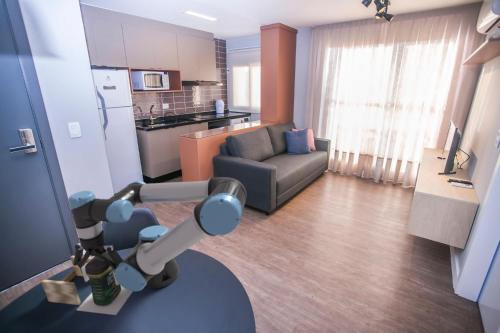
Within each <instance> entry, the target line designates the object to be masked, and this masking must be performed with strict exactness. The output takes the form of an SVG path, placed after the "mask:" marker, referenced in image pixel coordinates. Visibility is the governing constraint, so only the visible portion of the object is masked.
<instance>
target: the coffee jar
mask: <svg viewBox="0 0 500 333" xmlns="http://www.w3.org/2000/svg"><path fill="white" fill-rule="evenodd" d="M104 254H105V252H104V253H103V254H102V255H104ZM93 257H94V258H93V259H92V260H90V261H89V262H88V263H87V264H86V265H85V271H86V275H87V276H88V277H89V283H90V287H91V288H90V289H91V293H92V295H93V301H94V304H96V305H99V306H106V305H109V304H110V303H112V302H113V301H114V299H115V298H116V297H117V296H118V295H119V293H120V291H121V286H120V284H119V285H116V282H115V278H114V274H113V270H114V269H113V268H112V267H111V266H110V265H109V264H108V263H107V262H106V261H105V260H104V259H101V258H99V257H96V256H93Z"/></svg>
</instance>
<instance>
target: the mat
mask: <svg viewBox="0 0 500 333" xmlns="http://www.w3.org/2000/svg"><path fill="white" fill-rule="evenodd" d="M120 286H121V285H120ZM133 292H134V291H130V290H127V289H125V288H124V287H122V286H121V291H120V293H119V295H118V296H117V297H116V298H115V299H114V301H113V302H112V303H110V304H109V305H106V306H99V305H96V304H94V301H93V295H92V292H91V293H90V294H89V295H88V296H87V297H86V298H85V299H84V301H83V302H82V303H80V304H79V307H77V308H76V311H79V312H86V313H87V312H88V313H95V314H105V315H113V316H116V315H117V314H118V313H119V312H120V311H121V309H122V307H123V306H124V304H125V303H126V302H127V300H128V299H129V298H130V296H131V294H133Z"/></svg>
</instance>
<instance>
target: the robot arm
mask: <svg viewBox="0 0 500 333" xmlns="http://www.w3.org/2000/svg"><path fill="white" fill-rule="evenodd" d="M247 198H248V197H247V190H246V188H245V185H244V184H242V182H241V181H240V180H238V179H235V178H233V177H229V176H228V177H227V176H226V177H224V176H223V177H221V176H219V177H209V179H207V180H198V181H195V180H194V181H193V180H192V181H177V182H175V181H174V182H159V183H158V182H156V183H146V182H144V181H142V180H134V181H133V182H131V183H129V184H127V185H126V186H125V187H124V188H122V189H121V190H120V191H118V192H117V193H116V194H114V195H112V196H111V197H110V198H96V195H95V193H94V191H91V190H82V191H78V192H75V193H73V194H71V195H70V196H69V197H68V205H69V206H68V207H69V210H70V212H71V217H72V220H73V222H74V227H75V230H76V233H77V237H78V240H79V242H78V243H77V244H75V246H74V249H75V253H74V256H75V257H74V262H73V264H72V266H73V265H74V266H76V265H78V267H80V270H81V273H83V276H82V277H83V279H84V280H83V281H84V282H85V283H87V282H89V281H90V279H89V277H88V276H87V275H86V271H85V265H86V264H87V263H86V262H87V260H88V258H89V257H95V256H96V257H99V258H101V259H104V260H105V261H106V262H107V263H108V264H109V265H110V266H111V267H112V268H113V269H114V270H113V274H114V278H115V282H116V285H119V284H120V285H121V286H122V287H124V288H125V289H127V290H130V291H133V292H139V291H140V292H141V291H142V290H143V289H144V288H145V287H147V288H149V289H161V288H165V287H167V286H169V285H170V284H172V283H174V282H175V281H176V279H177V278H178V277H179V275H180V268H179V266H180V265H179V264H178V262H177V261H176V259H175V258H176V257H177V256H179V255H180V254H182V253H184V252H185V251H187V250H188V249H189V248H191V247H192V246H194V245H195V244H197V243H198V242H200V241H201V240H203V239H205V238H206V237H208V236H209V237H212V238H213V237H216V236H226V235H229V234H231V233H232V232H233V231H234V230H235V229H236V228H237V227H238V225H239V224H240V222H241V219H242V217H243V216H242V215H243V213H244V212H243V211H244V208H245V204H246V202H247ZM195 202H198V203H197V204H195V206H194V208H193V211H192V213H191V214H190V215H189V216H187V217H186V218H185V219H183V220H181V222H179V223H178V224H176V225H175V226H174V227H172V228H171V229H169V228H168V227H167V226H164V225H152V226H147V227H145V228H143V229H141V230H140V231H139V233H138V243H137V244H136V245H135V246H134V247H133V248H132V249H131V250H130V252H128V254H127V255H126V256H125V257H124V258H122V256H121V255H120V253H119V252H118V251H117V250H116V247H115V245H114V244H113V243H110V245H107V244H106V243H105V242H106V241H105V240H106V236H105V232H104V230H103V224H102V222H104V223H105V222H106V223H107V222H108V223H112V224H116V223H126V222H127V221H129V220H130V219H131V216H132V215H133V211H134V207H135V206H136V205H141V204H164V203H165V204H166V203H167V204H169V203H195ZM84 251H85V252H84ZM104 252H105V254H104V255H102V254H103V253H104ZM83 253H84V254H83ZM82 256H84V257H83V258H82ZM81 259H82V260H81ZM85 263H86V264H85Z"/></svg>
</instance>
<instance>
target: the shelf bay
mask: <svg viewBox="0 0 500 333" xmlns="http://www.w3.org/2000/svg"><path fill="white" fill-rule="evenodd" d="M74 257H75V255H71V256H70V258H69V259H70V261H71V264H72V267H73V270H71V271H69V273H67V274H66V275H65V276H64V277H63V278H62V279H60V280H54V279H53V280H52V279H51V280H50V279H44V278H43V279H42V280H40V282H41V285H42V288H43V290H44V292H45V296H46V297H47V301H48V302H50V303H58V304H59V303H60V304H65V305H67V304H68V305H77V306H80V305H81V304H82V303H81V299H80V296H79V292H78V290H77V286H76V284H75V283H76V282H75V281H73V282H72V280H73V279H75V277H84V276H83V273H81V270H80V267H78V265H76V266H74V265H73V262H74ZM83 257H84V255H82V258H83ZM94 257H95V256H90V257H89V258H88V260H87V262H86V263H88V262H89V261H90V260H92V259H93V258H94ZM81 260H82V259H81ZM86 263H85V264H86Z"/></svg>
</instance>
